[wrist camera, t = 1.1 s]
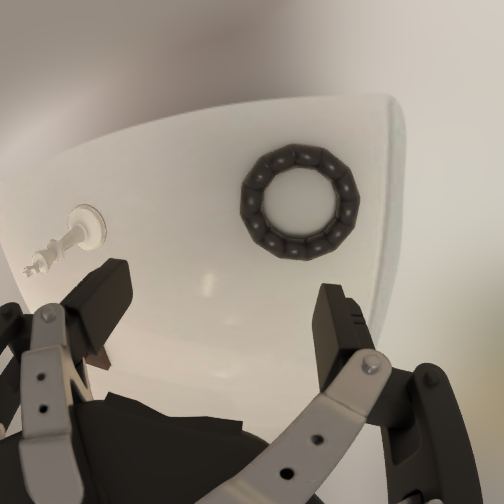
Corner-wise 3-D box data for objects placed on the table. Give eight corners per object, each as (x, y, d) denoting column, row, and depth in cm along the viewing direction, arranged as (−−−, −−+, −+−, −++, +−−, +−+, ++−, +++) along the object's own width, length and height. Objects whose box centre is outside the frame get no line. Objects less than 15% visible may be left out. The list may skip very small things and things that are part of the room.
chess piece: (66, 208, 24) (1, 248, 15) (99, 201, 24) (30, 244, 15) (78, 249, 26) (22, 299, 17) (111, 247, 26) (54, 302, 17)
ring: (246, 138, 20) (243, 139, 19) (363, 154, 20) (370, 157, 18) (238, 248, 25) (236, 257, 23) (343, 259, 24) (347, 268, 23)
